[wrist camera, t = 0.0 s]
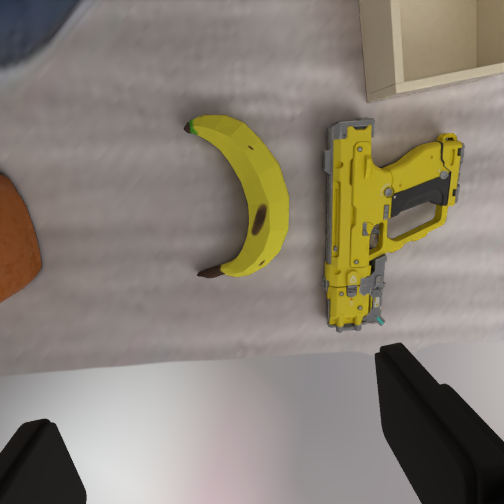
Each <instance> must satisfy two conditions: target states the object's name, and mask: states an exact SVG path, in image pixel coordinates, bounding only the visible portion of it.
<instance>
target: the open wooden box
mask: <svg viewBox="0 0 504 504" xmlns="http://www.w3.org/2000/svg"><path fill="white" fill-rule="evenodd" d="M359 10H360V22H361V33H362V45H363V56H364V68H365V79H366V91H367V102H368V103H370V102H374V101H379V100H384V99H389V98H394V97H399V96H404V95H409V94H414V93H419V92H424V91H429V90H434V89H439V88H444V87H449V86H454V85H459V84H464V83H469V82H474V81H479V80H483V79H486V78H490V77H494V76H497V75H501V74H504V0H359Z"/></svg>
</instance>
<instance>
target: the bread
mask: <svg viewBox="0 0 504 504" xmlns="http://www.w3.org/2000/svg"><path fill="white" fill-rule="evenodd" d="M41 267H42V266H41V256H40V249H39V245H38V242H37V238H36V234H35V230H34V227H33V224H32V221H31V219H30V216H29V213H28V211H27V208H26V205H25V204H24V202H23V200H22V199H21V197H20V195H19V194H18V192H17V190H16V189H15V187H14V185H13V184H12V182H11V180H10V179H9V178H7V177H5V176H3V175H1V174H0V303H1V302H2V301H4V300H5V299H7V298H9V297H10V296H12V295H13V294H15V293H17V292H18V291H20V290H21V289H23V288H24V287H25V286H26V285H27V284H28V283H30V282H31V281H32V280H33V279H34V278H35V277H36V276H37V274H38V272H39V271H40V269H41Z"/></svg>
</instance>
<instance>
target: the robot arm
mask: <svg viewBox="0 0 504 504" xmlns="http://www.w3.org/2000/svg"><path fill="white" fill-rule="evenodd" d="M375 364H376V375H377V384H378V394H379V403H380V414H381V424H382V430H383V433H384V436H385V438H386V440H387V442H388V444H389V446H390V448H391V449H392V451H393V453H394V455H395V457H396V458H397V460H398V462H399V464H400V466H401V467H402V469H403V471H404V472H405V475H406V476H407V478H408V480H409V482H410V484H411V485H412V487H413V489H414V491H415V493H416V494H417V496H418V498H419V500H420V501H421V503H422V504H504V442H503V440H502V439H501V438H500V437H499V436H498V435H497V434H496V433H495V432H494V431H493V430H492V429H491V428H490V427H489V426H488V425H487V424H486V423H485V422H484V421H483V419H481V417H480V416H479V415H478V414H477V413H476V412H475V411H474V410H473V409H472V408H471V407H470V406H469V405H468V404H467V403H466V402H465V401H464V400H463V399H462V398H461V397H460V395H459V394H458V393H457V392H456V391H455V390H454V389H453V388H451V387H450V386H449V385H447V384H441V385H440V384H439V383H438V382H437V381H436V380H435V379H434V378H433V377H432V376H431V374H429V372H428V371H427V370H426V369H425V368H424V367H423V366H422V365H421V364H420V362H418V360H417V359H416V358H415V357H414V356H413V355H412V354H411V353H410V352H409V350H408V349H407V348H406V347H405V346H404V345H403V344H402V343H395V344H390V345H386V346H381V347H380V352H378V353H375ZM86 497H87V495H86V490H85V488H84V485H83V483H82V481H81V479H80V477H79V474H78V472H77V470H76V468H75V466H74V463H73V461H72V459H71V457H70V454H69V452H68V450H67V448H66V445H65V443H64V441H63V439H62V437H61V434H60V432H59V430H58V428H57V426H56V424H55V423H51V422H50V421H49V420H48V419H40V420H35V421H31V422H26V423H24V424H22V425H21V426H20V427H19V428H18V430H17V431H16V433H15V434H14V435H13V437H12V438H11V439H10V441H9V442H8V443H7V445H6V446H5V448H4V449H3V450H2V451H1V453H0V504H86V500H87V498H86Z"/></svg>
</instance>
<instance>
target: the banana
mask: <svg viewBox="0 0 504 504" xmlns="http://www.w3.org/2000/svg"><path fill="white" fill-rule="evenodd" d="M184 130H185V131H186V132H187V133H194V134H196V135H198V136H200V137H202V138H204V139H206V140H207V141H209V142H210V143H212V144H213V145H214V146H216V147H217V148H218V149H219V150H220V151H221V152H222V153H223V155H224V156H225V157H226V158H227V160H228V161H229V162H230V164H231V166H232V167H233V169H234V171H235V172H236V174H237V176H238V178H239V179H240V181H241V183H242V186H243V189H244V192H245V196H246V199H247V202H248V209H249V227H248V234H247V238H246V241H245V244H244V246H243V249H242V251H241V252H240V254H239V255H238V257H236V258H235V259H234V260H232V261H230V262H228V263H225V264H222V265H218V266H215V267H212V268H209V269H206V270H204V271H201V272H199V273H198V274H197V276H202V277H205V278H214V277H217V276H220V275H223V274H225V275H228V276H233V277H240V276H246V275H250V274H252V273H254V272H256V271H257V270H259V269H261V268H263V267H265V266H266V265H267V264H268V263H269V262H270V261H271V260H272V259H273V258H274V257H275V256H276V255H277V254H278V253H279V252H280V249H281V247H282V244H283V242H284V239H285V237H286V234H287V232H288V222H289V194H288V191H287V187H286V184H285V181H284V178H283V175H282V171H281V168H280V165H279V163H278V161H277V160H276V159H275V157H274V156H273V155H272V153H271V152H270V151H269V149H268V148H267V147H266V145H265V144H264V143H263V141H262V140H261V139H260V138H259V137H258V136H257V135H256V134H255V133H254V132H253V131H252V130H251V129H250V128H249V127H248V126H247V125H246V124H245V123H244V122H241V121H239V120H236V119H234V118H232V117H229V116H227V115H202V116H200V117H198V118H195V119H193V120H191V121H189V122H187V124H186V125H185V127H184Z"/></svg>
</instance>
